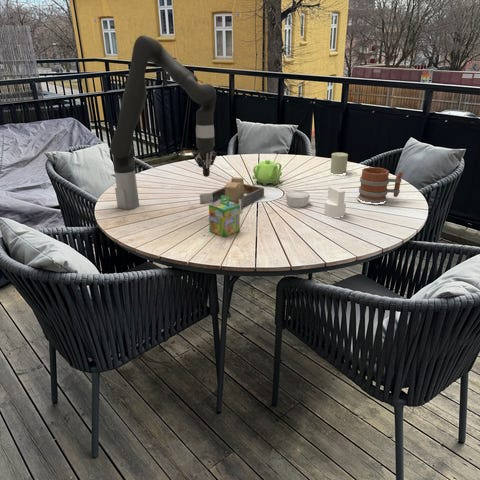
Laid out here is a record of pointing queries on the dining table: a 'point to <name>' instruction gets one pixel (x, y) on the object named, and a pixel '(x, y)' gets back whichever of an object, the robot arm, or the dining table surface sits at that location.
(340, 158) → the can
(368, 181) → the mug
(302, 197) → the ramekin
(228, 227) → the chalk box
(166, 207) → the dining table surface
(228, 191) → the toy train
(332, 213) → the white stepped block
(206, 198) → the bay
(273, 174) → the teapot
